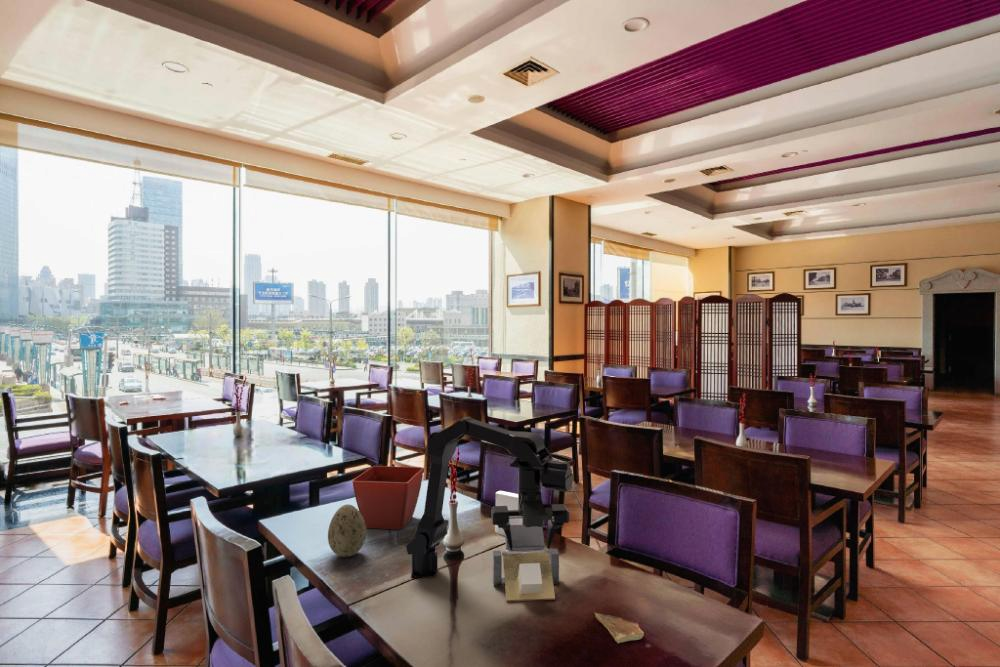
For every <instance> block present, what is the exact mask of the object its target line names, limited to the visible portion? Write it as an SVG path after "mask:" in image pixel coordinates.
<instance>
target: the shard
mask: <svg viewBox="0 0 1000 667" xmlns="http://www.w3.org/2000/svg"><path fill="white" fill-rule="evenodd" d="M594 615H595V618H596V619H597V621H599V623H600V624H602V625H603V626H604V628H605V629H607V631H608V632H609V634H610V635H611V637H612V638H613V639H614V641H615V642H616V643H617V644H620V643H625V642H629V641H637V640H641V639H643V637H644V634H645V633H644V631H643V630H642V629H641V628H640V626H639V623H637V622H635V621H631V620H629V619H628V620H627V619H625V618H621V617H618V616H614V615H609V614H605V613H601V612H597V611H594Z"/></svg>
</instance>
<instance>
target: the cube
mask: <svg viewBox="0 0 1000 667" xmlns="http://www.w3.org/2000/svg"><path fill="white" fill-rule="evenodd" d="M518 577H519V588H520V593H540V591H541V587H542V578H541V569H540V563H530V564H520V565H519V571H518Z"/></svg>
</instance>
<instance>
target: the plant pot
mask: <svg viewBox="0 0 1000 667" xmlns="http://www.w3.org/2000/svg"><path fill="white" fill-rule="evenodd" d="M423 474H424V467H421V466H419V467H417V466H394V465H391V466H390V465H374V466H371V467H370V468H368V469H367V470H365V471H363V472H362V473H361V474H359V475H358V476H356V477H355V478H354V479H352V481H351V482H352V487H353V493H354V497H355V501H356V504H357V508H358V509H357V510H358V511H359V512H360V513H361V515H362V517H363V519H364V522H365V525H366V529H376V530H377V529H378V530H379V529H381V530H399V531H400V530H402V529H404V527H405V526H406V525H407V524H408V523H409V522H410V520H412V519H413V517H414V514H415V511H416V507H417V504H418V500H419V496H420V492H421V489H422V488H421V487H422V482H423V477H424V475H423Z"/></svg>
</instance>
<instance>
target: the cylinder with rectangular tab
mask: <svg viewBox="0 0 1000 667" xmlns="http://www.w3.org/2000/svg"><path fill="white" fill-rule="evenodd" d="M495 506H507V508H508V510H518V493H514V492H509V491H504V490H498V491H496V492H495ZM509 523H510V525H523V518H515V519H509ZM494 531H495V533H496V534H498V535H500V536H505V532H504V530H503V528H499V527H498V525H494Z"/></svg>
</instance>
